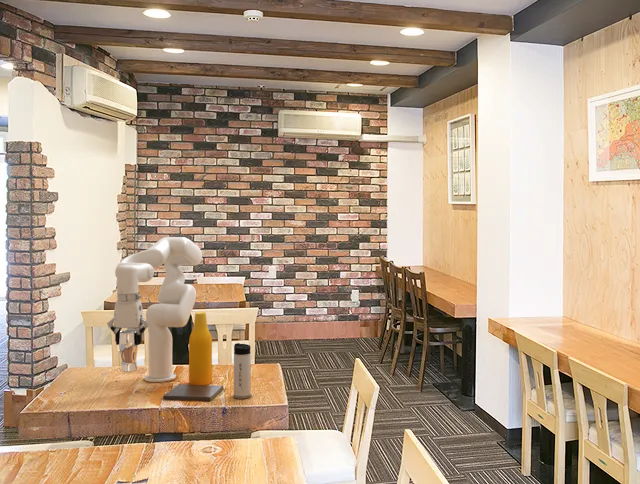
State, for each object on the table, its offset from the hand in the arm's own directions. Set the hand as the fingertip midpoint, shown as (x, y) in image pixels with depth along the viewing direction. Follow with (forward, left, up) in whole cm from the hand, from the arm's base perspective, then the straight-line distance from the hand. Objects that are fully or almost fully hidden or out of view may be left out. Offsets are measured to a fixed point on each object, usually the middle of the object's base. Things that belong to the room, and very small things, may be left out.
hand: (128, 343), depth 242 cm
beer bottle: (-20, +21, -20) cm, 35 cm away
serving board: (-4, +24, -20) cm, 31 cm away
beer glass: (0, 0, -10) cm, 10 cm away
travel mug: (-3, +43, -20) cm, 48 cm away
